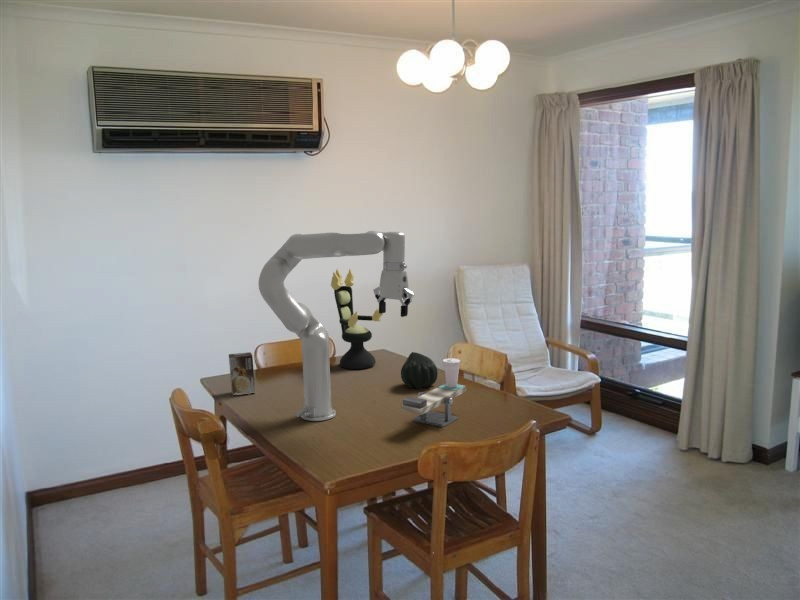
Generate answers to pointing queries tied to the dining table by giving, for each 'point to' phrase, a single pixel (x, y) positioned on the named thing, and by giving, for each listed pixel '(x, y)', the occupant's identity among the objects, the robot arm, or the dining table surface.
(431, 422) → the pivot stand
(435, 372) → the squash
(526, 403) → the dining table surface
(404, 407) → the beam
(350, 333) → the toy throne chair
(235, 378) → the coffee box
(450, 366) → the smoothie
